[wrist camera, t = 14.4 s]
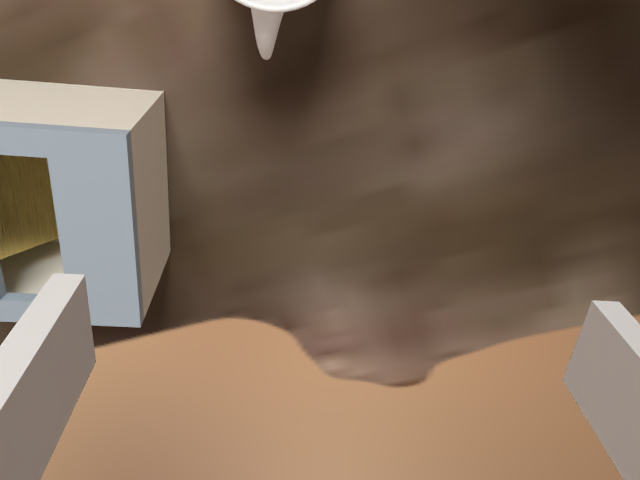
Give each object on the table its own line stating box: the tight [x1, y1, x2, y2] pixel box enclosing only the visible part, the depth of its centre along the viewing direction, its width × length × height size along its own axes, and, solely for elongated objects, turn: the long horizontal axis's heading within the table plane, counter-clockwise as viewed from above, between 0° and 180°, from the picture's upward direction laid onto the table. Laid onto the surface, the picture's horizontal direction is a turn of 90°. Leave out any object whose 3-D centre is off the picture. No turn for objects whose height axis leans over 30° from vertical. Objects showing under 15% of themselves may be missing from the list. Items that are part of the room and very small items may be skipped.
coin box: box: [0, 79, 171, 328], centre depth 41 cm, size 14×14×11 cm
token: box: [0, 155, 59, 259], centre depth 41 cm, size 8×2×8 cm
